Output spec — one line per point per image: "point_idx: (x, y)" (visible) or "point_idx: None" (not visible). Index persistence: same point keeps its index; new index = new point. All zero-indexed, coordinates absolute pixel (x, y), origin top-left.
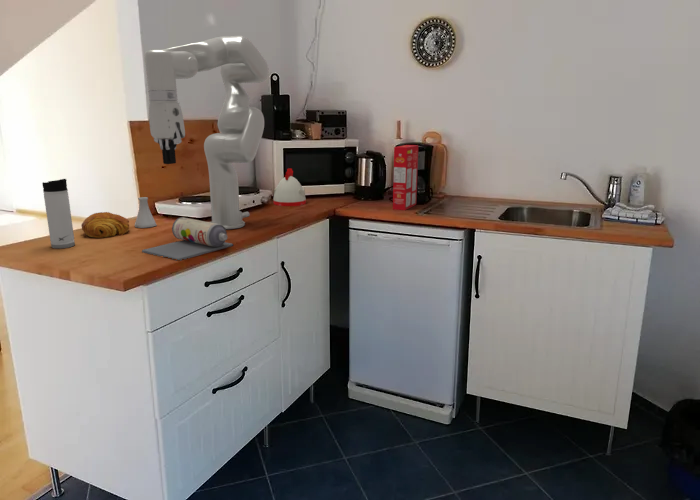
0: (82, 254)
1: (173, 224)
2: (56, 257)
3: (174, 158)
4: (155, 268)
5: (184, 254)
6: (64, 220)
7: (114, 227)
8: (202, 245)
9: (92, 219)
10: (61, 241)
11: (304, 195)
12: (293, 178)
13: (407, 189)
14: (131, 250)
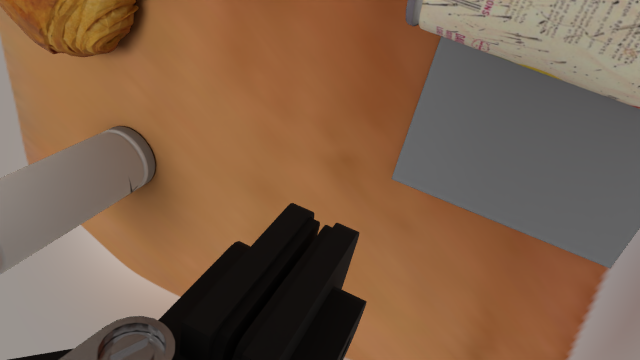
0: (245, 224)
1: (410, 22)
2: (214, 257)
3: (358, 319)
4: (564, 340)
5: (605, 210)
6: (90, 208)
7: None
8: None
9: (42, 34)
10: (136, 188)
11: None
12: None
13: None
14: (342, 160)
